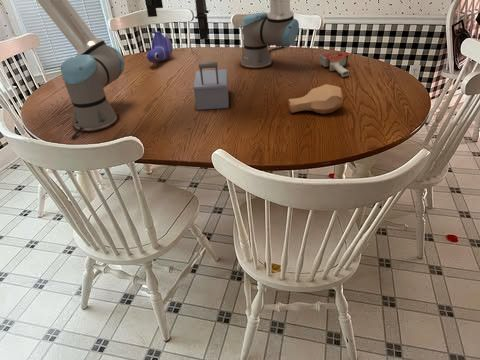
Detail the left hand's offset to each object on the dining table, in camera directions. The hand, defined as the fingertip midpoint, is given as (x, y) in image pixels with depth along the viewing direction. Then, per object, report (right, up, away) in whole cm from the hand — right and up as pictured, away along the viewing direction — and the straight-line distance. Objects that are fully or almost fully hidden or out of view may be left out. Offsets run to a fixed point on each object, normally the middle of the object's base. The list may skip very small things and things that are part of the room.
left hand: (156, 12), depth 117 cm
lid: (+16, -16, +22) cm, 32 cm away
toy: (-15, +7, +71) cm, 73 cm away
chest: (+17, -23, +28) cm, 40 cm away
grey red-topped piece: (+72, -4, +49) cm, 87 cm away
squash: (+56, -30, +15) cm, 65 cm away
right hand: (+16, -7, +3) cm, 17 cm away
